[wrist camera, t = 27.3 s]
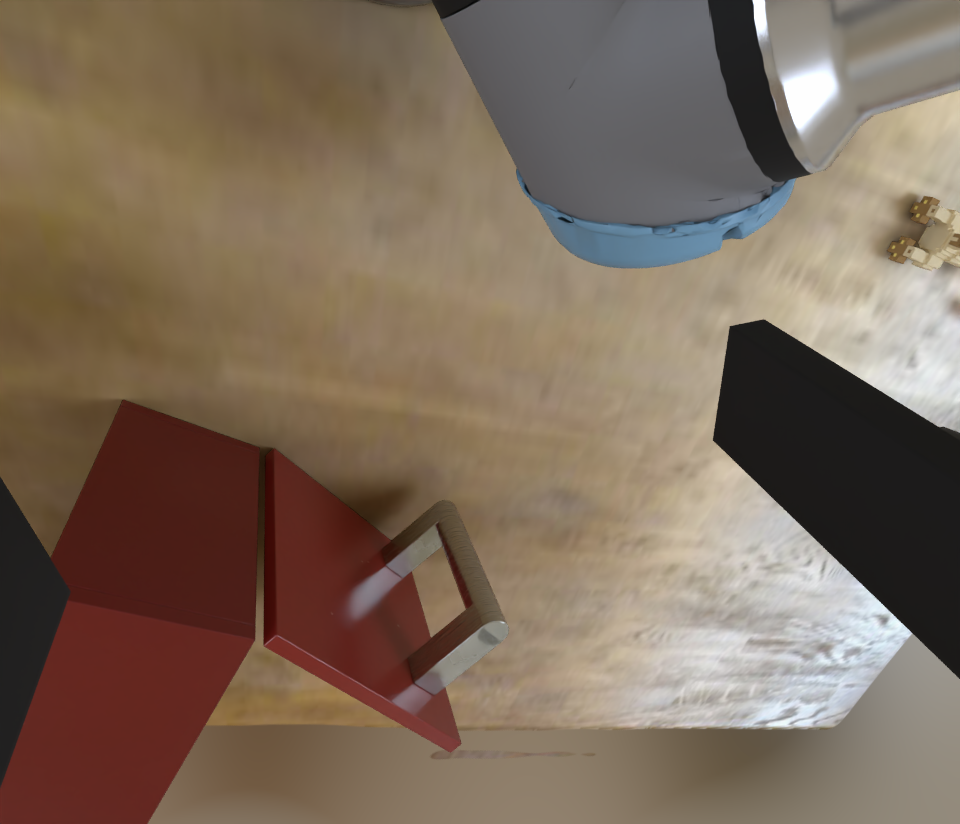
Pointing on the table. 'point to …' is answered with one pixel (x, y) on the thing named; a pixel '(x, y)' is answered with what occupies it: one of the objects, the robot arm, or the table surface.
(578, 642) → the table surface
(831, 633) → the table surface
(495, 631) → the red cabinet door
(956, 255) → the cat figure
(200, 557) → the cabinet
